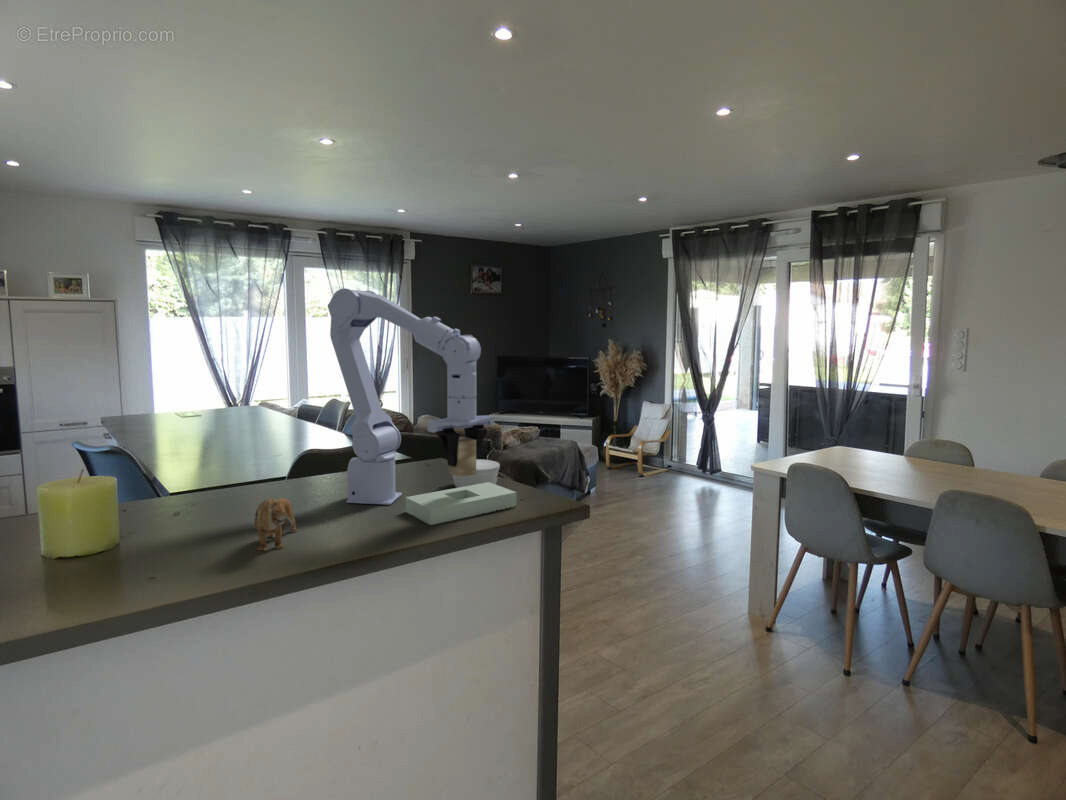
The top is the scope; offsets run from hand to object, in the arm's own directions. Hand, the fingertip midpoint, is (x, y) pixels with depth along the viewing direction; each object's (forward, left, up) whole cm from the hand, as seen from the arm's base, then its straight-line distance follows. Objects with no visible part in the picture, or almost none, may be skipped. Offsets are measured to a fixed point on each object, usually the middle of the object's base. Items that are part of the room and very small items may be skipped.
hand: (462, 464), depth 125 cm
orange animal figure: (-27, -23, -10) cm, 37 cm away
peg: (0, 0, -2) cm, 2 cm away
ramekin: (-1, +18, -10) cm, 20 cm away
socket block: (0, 0, -9) cm, 9 cm away
